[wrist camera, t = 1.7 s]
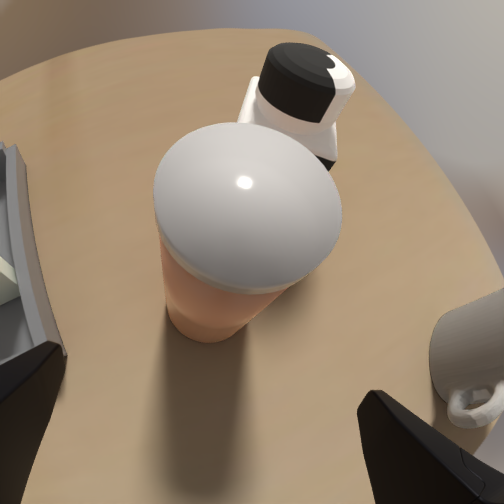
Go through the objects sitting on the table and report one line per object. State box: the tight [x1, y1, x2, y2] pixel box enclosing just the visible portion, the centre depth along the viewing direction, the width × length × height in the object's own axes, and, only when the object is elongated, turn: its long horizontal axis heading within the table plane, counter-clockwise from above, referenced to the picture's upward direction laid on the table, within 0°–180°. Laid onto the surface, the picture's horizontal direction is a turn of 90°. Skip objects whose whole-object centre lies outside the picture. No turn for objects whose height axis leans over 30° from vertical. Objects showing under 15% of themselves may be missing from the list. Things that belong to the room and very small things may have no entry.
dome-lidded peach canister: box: [153, 123, 342, 343], centre depth 15 cm, size 6×6×13 cm
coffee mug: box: [429, 288, 504, 429], centre depth 18 cm, size 13×10×10 cm
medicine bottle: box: [237, 43, 355, 172], centre depth 21 cm, size 7×7×12 cm
